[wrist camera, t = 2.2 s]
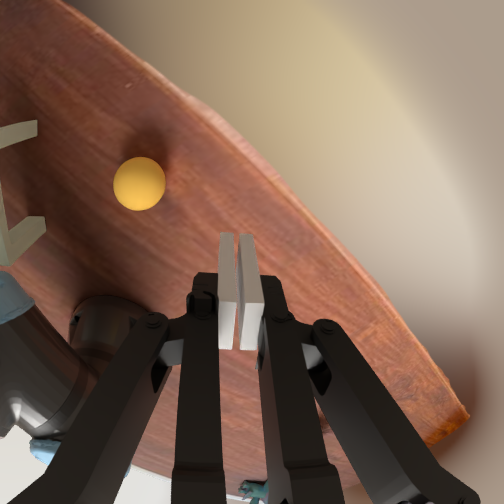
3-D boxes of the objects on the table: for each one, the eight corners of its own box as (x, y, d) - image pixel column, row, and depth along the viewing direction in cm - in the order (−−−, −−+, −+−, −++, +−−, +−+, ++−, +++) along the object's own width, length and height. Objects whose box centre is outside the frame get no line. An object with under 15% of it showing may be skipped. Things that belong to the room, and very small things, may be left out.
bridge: (37, 119, 27) (-11, 132, 19) (46, 230, 33) (10, 266, 25) (19, 122, 26) (-29, 136, 18) (30, 229, 33) (-7, 264, 25)
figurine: (229, 494, 78) (269, 503, 79) (228, 511, 69) (271, 520, 70) (254, 460, 77) (297, 470, 78) (255, 478, 69) (301, 488, 69)
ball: (169, 201, 33) (159, 220, 28) (123, 199, 33) (107, 217, 28) (170, 153, 31) (160, 163, 26) (122, 152, 30) (104, 163, 25)
